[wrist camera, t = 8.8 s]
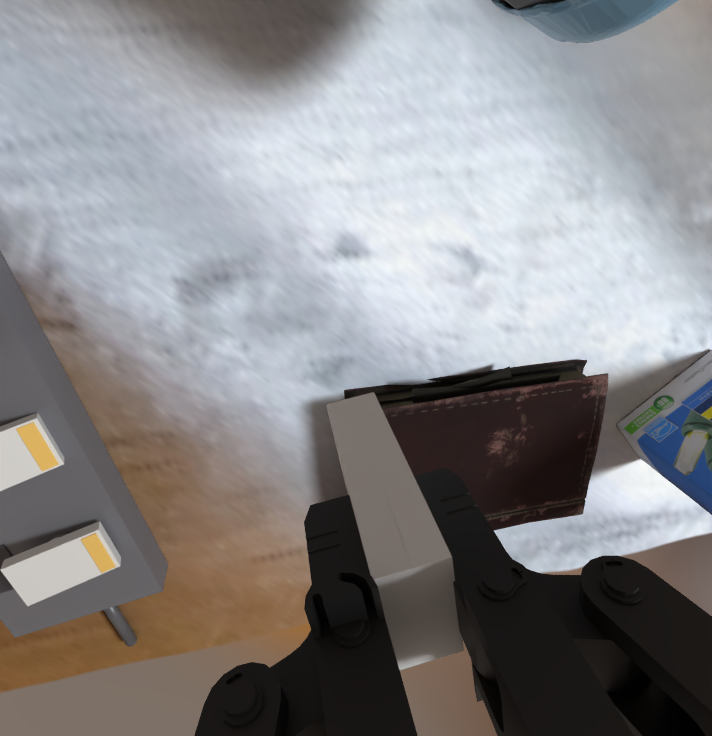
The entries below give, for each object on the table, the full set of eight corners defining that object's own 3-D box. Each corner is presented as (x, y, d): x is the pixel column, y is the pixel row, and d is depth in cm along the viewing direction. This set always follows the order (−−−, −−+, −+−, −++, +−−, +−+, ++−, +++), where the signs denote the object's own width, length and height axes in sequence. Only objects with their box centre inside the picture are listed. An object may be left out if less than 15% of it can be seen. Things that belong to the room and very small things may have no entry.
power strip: (-253, 228, 32) (-314, 237, 29) (-38, 179, 34) (-72, 181, 30) (70, 659, 52) (57, 695, 49) (197, 618, 54) (193, 650, 50)
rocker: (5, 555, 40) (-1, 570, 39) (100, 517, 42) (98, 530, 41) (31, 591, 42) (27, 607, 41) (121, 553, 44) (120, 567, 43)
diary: (558, 492, 58) (584, 521, 53) (353, 529, 54) (362, 564, 50) (581, 349, 50) (614, 369, 45) (343, 380, 46) (353, 405, 42)
